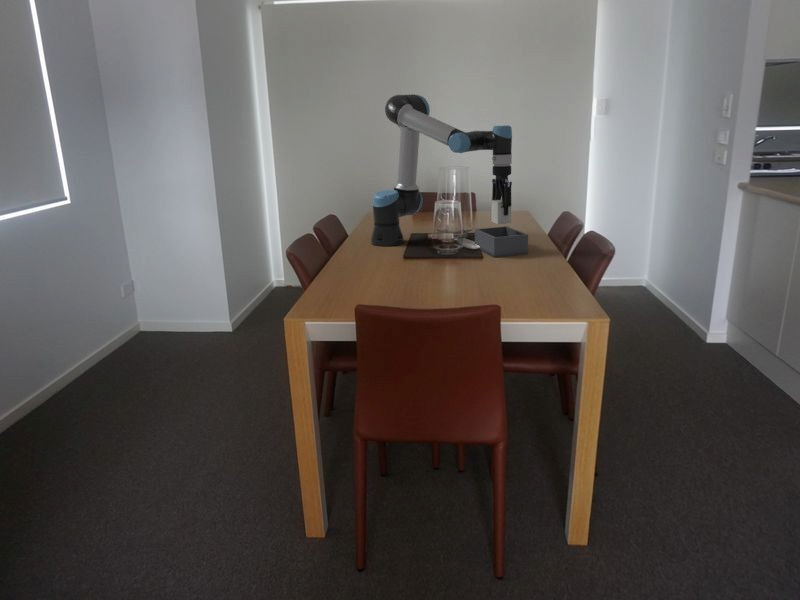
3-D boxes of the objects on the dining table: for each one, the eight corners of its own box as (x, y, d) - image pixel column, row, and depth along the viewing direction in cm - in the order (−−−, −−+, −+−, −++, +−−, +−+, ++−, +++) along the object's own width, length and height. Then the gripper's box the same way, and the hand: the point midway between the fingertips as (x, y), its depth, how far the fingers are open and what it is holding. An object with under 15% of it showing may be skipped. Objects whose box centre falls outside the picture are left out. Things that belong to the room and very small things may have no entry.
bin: (474, 247, 260) (474, 229, 258) (506, 244, 264) (506, 226, 262) (494, 257, 242) (494, 237, 240) (527, 253, 246) (528, 234, 243)
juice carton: (491, 221, 251) (491, 198, 248) (504, 220, 253) (504, 196, 250) (497, 224, 246) (497, 199, 243) (510, 222, 247) (511, 198, 244)
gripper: (483, 164, 250) (483, 219, 257) (503, 167, 233) (502, 226, 240) (500, 162, 252) (499, 217, 259) (521, 166, 234) (519, 224, 241)
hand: (501, 221), depth 249 cm, fingers closed on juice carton, 6 cm apart
